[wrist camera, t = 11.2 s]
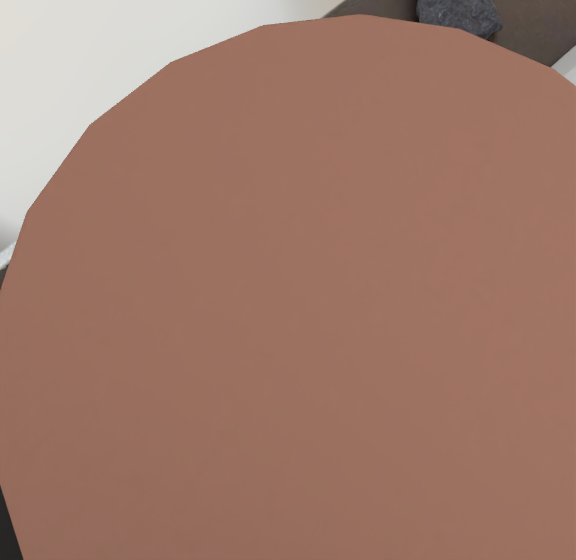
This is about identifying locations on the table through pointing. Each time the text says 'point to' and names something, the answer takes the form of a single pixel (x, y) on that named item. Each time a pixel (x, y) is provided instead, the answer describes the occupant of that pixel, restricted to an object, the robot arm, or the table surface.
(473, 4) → the rock
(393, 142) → the coffee jar
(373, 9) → the table surface
